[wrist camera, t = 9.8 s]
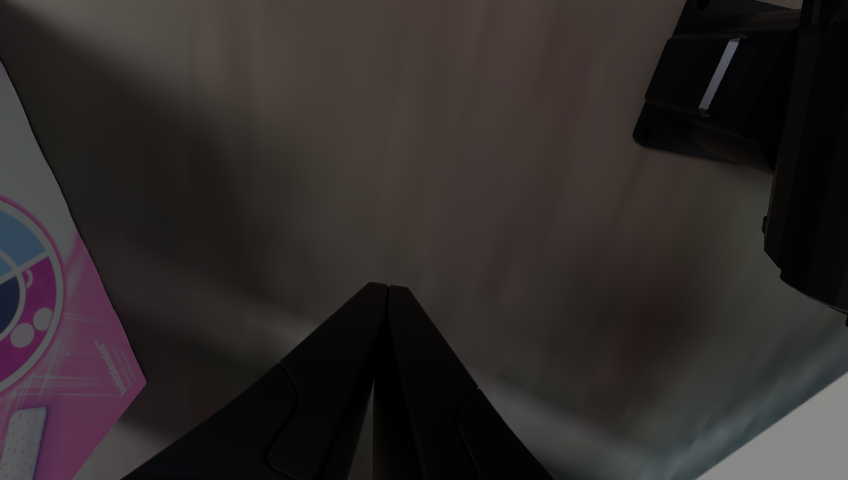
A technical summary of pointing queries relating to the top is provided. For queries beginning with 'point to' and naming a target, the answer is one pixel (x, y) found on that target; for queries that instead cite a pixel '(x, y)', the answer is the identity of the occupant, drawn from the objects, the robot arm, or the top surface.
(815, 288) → the robot arm
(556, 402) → the top surface
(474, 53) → the top surface
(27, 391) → the gum box
